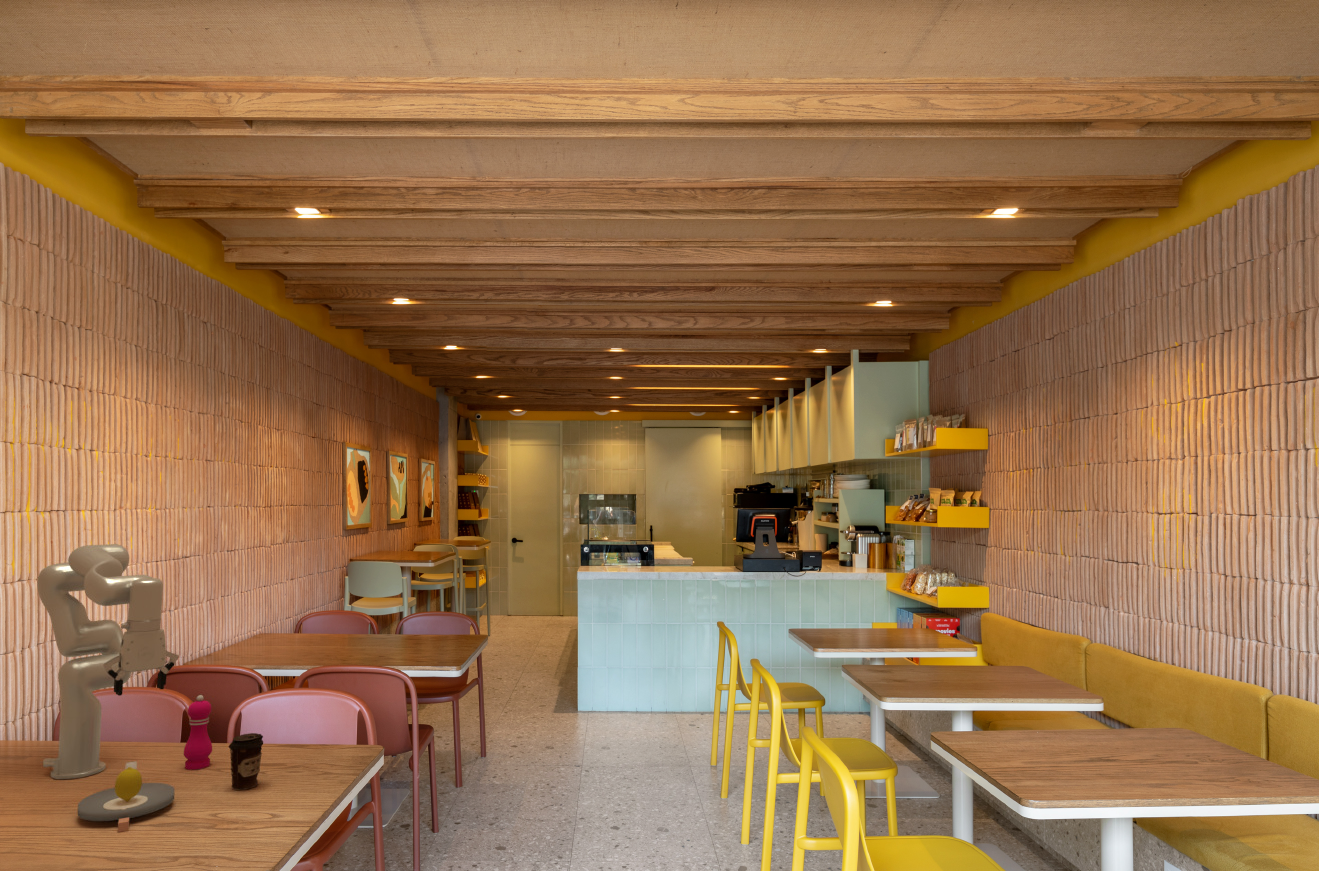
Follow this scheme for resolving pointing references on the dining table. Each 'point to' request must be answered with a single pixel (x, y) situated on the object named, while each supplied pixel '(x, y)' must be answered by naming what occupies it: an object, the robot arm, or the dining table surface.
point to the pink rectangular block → (123, 824)
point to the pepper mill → (198, 736)
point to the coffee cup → (245, 760)
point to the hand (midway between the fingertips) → (139, 691)
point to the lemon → (128, 784)
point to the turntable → (125, 802)
